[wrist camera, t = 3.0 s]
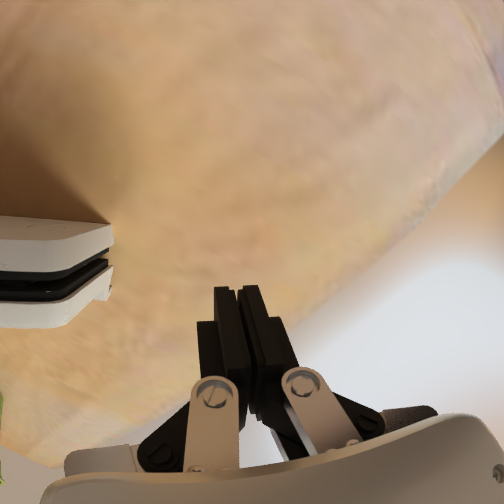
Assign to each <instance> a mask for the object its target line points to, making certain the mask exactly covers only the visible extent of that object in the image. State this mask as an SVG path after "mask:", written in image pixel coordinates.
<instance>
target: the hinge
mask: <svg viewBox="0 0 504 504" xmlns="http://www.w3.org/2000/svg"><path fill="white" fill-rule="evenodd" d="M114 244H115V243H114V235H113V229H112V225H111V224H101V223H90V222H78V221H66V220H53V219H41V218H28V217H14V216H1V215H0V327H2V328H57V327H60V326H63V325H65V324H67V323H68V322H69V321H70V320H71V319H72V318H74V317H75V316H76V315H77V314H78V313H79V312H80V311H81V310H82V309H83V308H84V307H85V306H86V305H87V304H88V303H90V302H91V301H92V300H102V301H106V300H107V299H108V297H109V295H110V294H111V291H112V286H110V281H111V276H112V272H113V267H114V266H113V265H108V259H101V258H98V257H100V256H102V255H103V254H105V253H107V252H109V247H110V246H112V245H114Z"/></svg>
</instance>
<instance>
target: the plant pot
mask: <svg viewBox="0 0 504 504" xmlns="http://www.w3.org/2000/svg"><path fill="white" fill-rule="evenodd" d="M2 406H3V397H2V395H1V393H0V427H1V415H2ZM0 485H5V482H4V480H3V479H2V478H1V462H0Z"/></svg>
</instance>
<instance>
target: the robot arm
mask: <svg viewBox="0 0 504 504" xmlns="http://www.w3.org/2000/svg"><path fill="white" fill-rule="evenodd" d="M197 335H198V349H199V361H200V372H201V380H199V381H197V382H196V384H195V385H194V386H193V388H192V391H191V398H190V401H189V402H188V403H187V404H186V405H184V406H183V407H182V408H181V409H180V410H179V411H178V412H176V413H175V414H174V415H173V416H172V417H171V418H169V419H168V420H167V421H166V422H165V423H164V424H163V425H161V426H160V427H159V428H158V429H157V430H156V431H154V432H153V433H152V434H151V435H150V436H149V437H147V438H146V439H145V440H144V441H143V442H142V443H141V444H138V445H132V446H130V445H129V444H124V445H117V446H110V447H102V448H94V449H84V450H77V451H73V452H71V453H70V454H69V455H67V457H66V459H65V461H64V471H65V478H62V479H60V480H57V481H55V482H54V483H52V484H50V485H49V486H48V487H47V488H46V490H45V491H44V493H43V495H42V498H41V501H40V504H504V452H503V450H502V448H501V447H500V445H499V443H498V442H497V440H496V438H495V437H494V436H493V434H492V433H491V431H490V430H489V429H488V427H487V426H486V425H485V424H484V423H483V422H482V421H481V420H480V419H479V418H478V417H476V416H474V415H471V414H465V413H449V414H443V415H438V413H437V411H436V410H434V409H433V408H432V407H429V406H424V405H422V406H414V407H406V408H398V409H388V410H383V411H382V412H379V413H378V412H376V411H375V410H373V409H371V408H368V407H366V406H363V405H361V404H359V403H356V402H354V401H352V400H350V399H347V398H345V397H343V396H341V395H338V394H336V393H334V392H332V391H331V390H330V388H329V386H328V385H327V383H326V382H325V380H324V379H323V377H322V376H321V375H320V374H319V373H318V372H316V371H315V370H313V369H310V368H307V367H299V364H298V361H297V359H296V356H295V354H294V351H293V348H292V346H291V343H290V341H289V338H288V335H287V333H286V330H285V328H284V325H283V323H282V320H281V318H280V317H279V316H278V317H269V316H268V313H267V310H266V307H265V304H264V301H263V299H262V296H261V293H260V290H259V287H258V285H246V286H243V289H240V290H238V294H237V300H236V296H235V291H234V290H229V287H228V286H224V287H214V321H199V322H197ZM248 406H249V410H250V413H251V414H256V418H257V421H260V420H262V423H263V424H264V425H266V426H268V427H269V428H270V431H271V434H272V436H273V438H274V440H275V443H276V445H277V447H278V449H279V451H280V453H281V455H282V457H283V459H284V461H285V462H280V463H274V464H268V465H262V466H255V467H248V468H239V432H240V431H241V430H242V428H244V426H245V421H246V415H247V408H248Z"/></svg>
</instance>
